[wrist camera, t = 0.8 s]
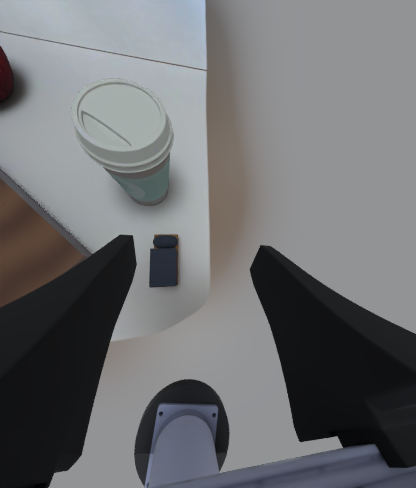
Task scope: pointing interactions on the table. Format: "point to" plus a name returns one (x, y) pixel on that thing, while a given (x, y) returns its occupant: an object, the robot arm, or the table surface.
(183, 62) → the table surface
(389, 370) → the robot arm
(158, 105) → the coffee cup
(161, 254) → the cube on wooden base
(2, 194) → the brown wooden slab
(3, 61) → the fruit
